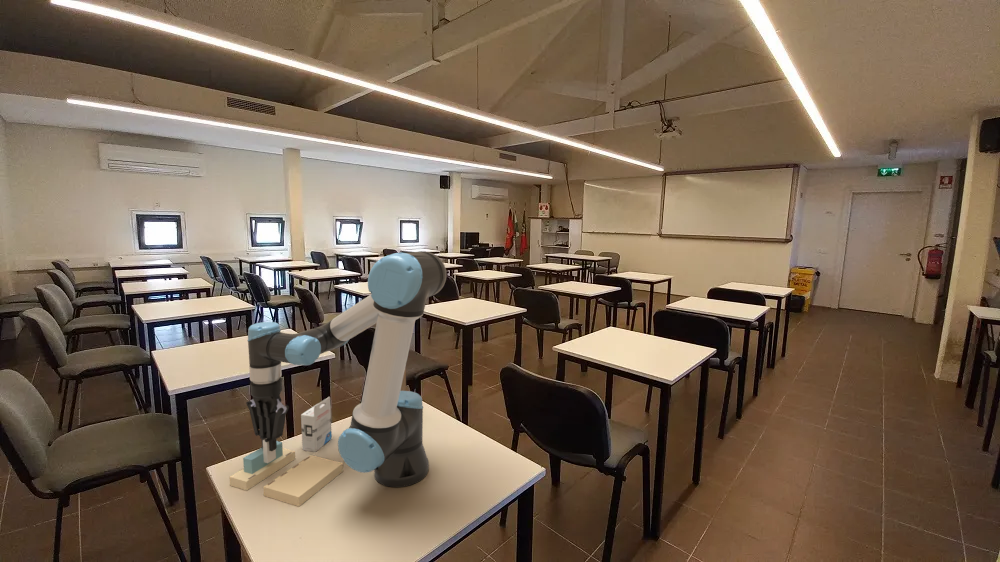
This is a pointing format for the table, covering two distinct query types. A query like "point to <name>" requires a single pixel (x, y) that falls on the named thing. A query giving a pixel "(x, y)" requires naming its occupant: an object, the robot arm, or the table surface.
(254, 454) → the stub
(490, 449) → the table surface
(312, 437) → the ink box
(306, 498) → the beige flat slab
